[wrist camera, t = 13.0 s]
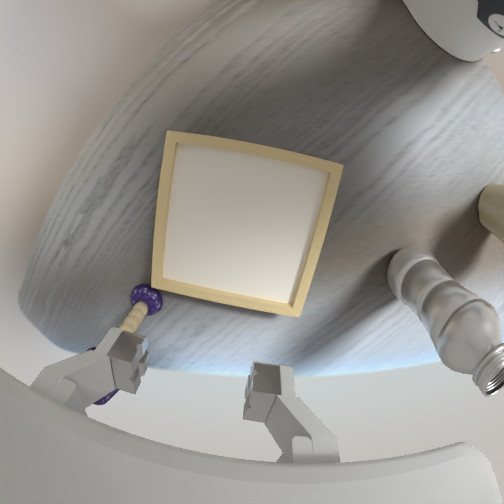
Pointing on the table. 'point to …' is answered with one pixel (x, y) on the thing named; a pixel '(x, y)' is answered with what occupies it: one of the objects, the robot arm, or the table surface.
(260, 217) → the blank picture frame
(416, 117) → the table surface
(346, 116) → the table surface
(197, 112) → the table surface
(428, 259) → the plastic bottle
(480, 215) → the flower pot
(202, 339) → the table surface
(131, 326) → the toy lamp
